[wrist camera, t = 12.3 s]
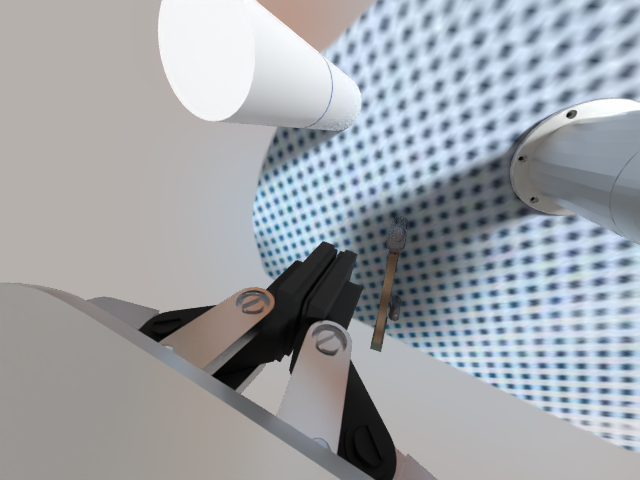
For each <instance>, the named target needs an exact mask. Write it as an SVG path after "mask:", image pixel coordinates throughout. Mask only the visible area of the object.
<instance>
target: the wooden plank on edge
mask: <svg viewBox="0 0 640 480" xmlns="http://www.w3.org/2000/svg"><path fill="white" fill-rule="evenodd" d="M398 256H399V252H392V251H390V250H389V254H388V260H387V265H386V273H385V279H384V285H383V290H382V296H381V301H380V307H379V313H378V317H377V321H376V325H375V329H374V334H373V338H372V342H371V349H373V350H376V351H379V352H381V349H382V344H383V339H384V333H385V328H386V323H387V318H388V317H386V314H387V309H388V304H389V299H390V294H391V289H392V284H393V279H394V274H395V270H396V267H397V262H398Z"/></svg>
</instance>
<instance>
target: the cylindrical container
mask: <svg viewBox="0 0 640 480" xmlns="http://www.w3.org/2000/svg"><path fill="white" fill-rule="evenodd" d="M158 37H159V38H158V41H159V47H160V54H161V59H162V63H163V67H164V70H165V73H166V76H167V78H168V81H169V83H170V85H171V87H172V89H173V91H174V93H175V94H176V95H177V97H178V98H179V100H180V101H181V103H182V104H183V105H184V106H185V107H186V108H187V109H188V110H189V111H191V112H192V113H193V114H194V115H196V116H198V117H200V118H202V119H204V120H209V121H216V122H229V123H242V124H255V125H268V126H280V127H293V128H306V129H319V130H331V131H340V130H344V129H346V128H348V127H349V126H351V125H352V124H353V123H354V121H355V120H356V119H357V117H358V115H359V112H360V109H361V94H360V91H359V88H358V86H357V85H356V83H355V82H354V81H353V80H352V79H350V78H349V77H348V76H347V75H345V74H344V73H343V72H342V71H341V70H339V69H338V68H337V67H336V66H335V65H333V64H332V63H331V62H330V61H328V60H327V59H326V58H325V57H324V56H322V55H321V54H320V53H319V52H318V51H316V50H315V49H314V48H313V47H312V46H310V45H309V44H308V43H306V42H305V41H304V40H303V39H302V38H301V37H299V36H298V35H297V34H296V33H294V32H293V31H292V30H291V29H290V28H288V27H287V26H286V25H285V24H284V23H282V22H281V21H280V20H279V19H277V18H276V17H275V16H274V15H273V14H271V13H270V12H269V11H268V10H266V9H265V8H264V7H263V6H261V5H260V4H259V3H258V2H257V1H256V0H162V3H161V8H160V13H159V22H158Z"/></svg>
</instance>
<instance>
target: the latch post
mask: <svg viewBox="0 0 640 480" xmlns="http://www.w3.org/2000/svg"><path fill="white" fill-rule="evenodd" d="M400 303H401V299H400V297H398V296H393V297H392V302H391V307H390V312H389V318H390V319H391V320H393V321H397V320H398V319H399V311H400Z"/></svg>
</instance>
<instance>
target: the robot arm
mask: <svg viewBox="0 0 640 480" xmlns="http://www.w3.org/2000/svg"><path fill="white" fill-rule="evenodd" d="M567 113H570V116H569V117H566V114H567ZM521 156H522V157H523V159H522V160H520V161H519V157H521ZM510 181H511V184H512V188H513V190H514V191H515V193H516V195H517V196H518V197H519V198H520V199H521V200H522V201H523V202H524V203H526V204H527V205H529V206H530V207H532V208H534V209H536V210H538V211H541V212H545V213H548V214H555V215H580V216H582V217H584V218H586V219H588V220H590V221H592V222H594V223H596V224H598V225H600V226H602V227H604V228H606V229H608V230H610V231H612V232H614V233H616V234H618V235H620V236H622V237H624V238H626V239H629V240H631V241H633V242H635V243H637V244H639V245H640V102H638V101H634V100H631V99H624V98H605V99H596V100H591V101H586V102H582V103H579V104H576V105H573V106H570V107H567V108H565V109H563V110H561V111H559V112H557V113H555V114H553V115H551V116H550V117H548V118H547V119H545V120H544V121H542V122H541V123H540V124H538V125H537V126H536V127H535V128H534V129H533V130H531V131H530V133H529V134H528V135H527V136H526V137H525V138H524V139H523V140H522V142H521V143H520V145H519V147H518V148H517V150H516V152H515V154H514V156H513V159H512V162H511V167H510ZM532 197H534V199H533V200H530V199H531V198H532ZM334 247H335V246H334V245H332V244H329V243H327V242H324V241H323V242H322V243H321V244H320V245H319V246H318V247H317V248H316V249H315V250H314V251H313V252H312V253H311V254H310V255H309V256H308V257H307V259H306V260H305V261H304V262H301V261H298V260H296V261H295V262H294V263H293V264H292V265H291V266H290V267H289V268H288V269H287V270H286V271H285V272H283V273H282V274H281V275H280V276H279V277H278V278H277V279H276V280H275V281H274V282H273V283H272V284H271V285H270V286H269V287H268V288H267V289H266V290H265V289H262V288H257V287H254V288H251V287H250V288H246V289H243V290H241V291H239V292H237V293H235V294H234V295H232V296H231V297H229V298H227V299H226V300H224V301H223V302H221V303H220V304H218V305H214V306H206V307H198V308H191V309H184V310H176V311H169V312H165V313H161V314H159V310H156V309H152V308H148V307H144V306H141V305H137V304H133V303H130V302H126V301H122V300H118V299H115V298H110V297H98V298H93V299H90V300H87V301H86V300H84V299H82V298H80V297H78V296H75V295H73V294H70V293H67V292H64V291H61V290H57V289H53V288H49V287H44V286H38V285H29V284H22V283H0V480H437V479H436V478H435V477H434V476H433V475H432V474H431V473H429V472H428V471H427V470H426V469H425V468H424V467H423V466H421V465H420V464H419V463H418V462H417V461H416V460H415V459H414V458H412V457H411V456H410V455H409V454H407V456H405V455H403V454H402V453H401V452H400V451H399V450H398V449H396V448H395V446H394V444H393V441H392V439H391V436H390V434H389V432H388V430H387V428H386V426H385V425H384V423H383V421H382V419H381V417H380V415H379V413H378V411H377V409H376V407H375V405H374V403H373V402H372V400H371V398H370V396H369V394H368V392H367V390H366V388H365V386H364V384H363V382H362V380H361V379H360V377H359V375H358V373H357V371H356V369H355V367H354V365H353V363H352V361H351V359H350V357H351V350H352V340H351V338H350V335H349V333H348V332H347V328H348V326H349V323H350V321H351V318H352V316H353V313H354V310H355V308H356V305H357V302H358V300H359V297H360V294H361V292H362V289H363V287H361V286H359V285H357V284H354V283H352V282H349V280H350V277H351V274H352V270H353V267H354V264H355V261H356V258H357V254H356V253H353V252H351V251H348V250H346V251H345V252H342V251H340V253H339V254H338V255H337V251H338V250H337V249H334ZM336 255H337V257H336ZM293 349H294V350H293ZM292 351H293V355H292V360H291V364H290V369H289V371H290V374H291V377H290V380H289V383H288V386H287V388H286V391H285V394H284V396H283V399H282V402H281V405H280V407H279V410H278V413H277V415H276V416H274V415H273V414H271V413H270V412H268V411H267V410H265V409H263V408H262V407H260V406H259V405H257V404H255V403H254V402H252V401H251V400H249V399H247V398H245V397H244V396H243V395H241V393H242V392H243V391H244V389H245V388H246V387H247V386H248V385H249V384H250V383H251V382H252V381H253V380H254V379H255V378H256V376H257V375H258V374H259V373H260V372H261V371H262V370H263V368H264V367H265V365H266V363H269V362H273V361H274V360H277V361H279V362H281V360H282V358H283V357H284V355H287V356H289V355H290V354H291V352H292Z"/></svg>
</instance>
